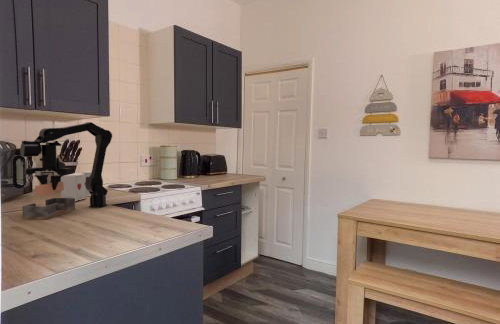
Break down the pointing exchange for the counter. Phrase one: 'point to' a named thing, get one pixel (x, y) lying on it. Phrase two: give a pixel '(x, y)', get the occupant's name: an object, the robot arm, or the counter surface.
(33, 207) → the bracket stand
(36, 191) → the rail
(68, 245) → the counter surface
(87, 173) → the skincare box
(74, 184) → the supplement box
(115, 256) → the counter surface
